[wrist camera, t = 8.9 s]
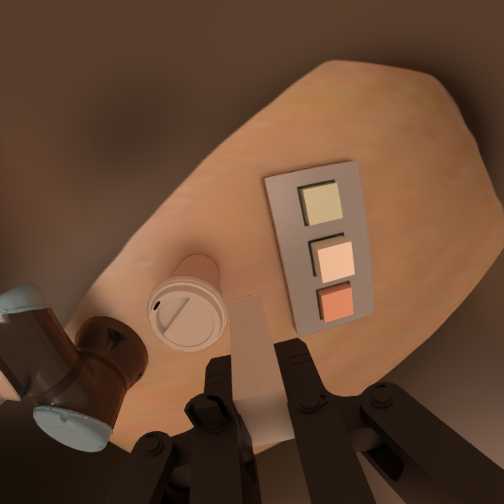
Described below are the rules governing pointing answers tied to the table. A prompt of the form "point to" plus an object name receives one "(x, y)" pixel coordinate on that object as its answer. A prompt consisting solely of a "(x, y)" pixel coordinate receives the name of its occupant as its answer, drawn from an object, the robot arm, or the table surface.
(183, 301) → the coffee cup
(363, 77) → the table surface
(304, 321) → the keypad board
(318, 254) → the ivory key
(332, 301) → the terracotta key
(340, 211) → the sage key
